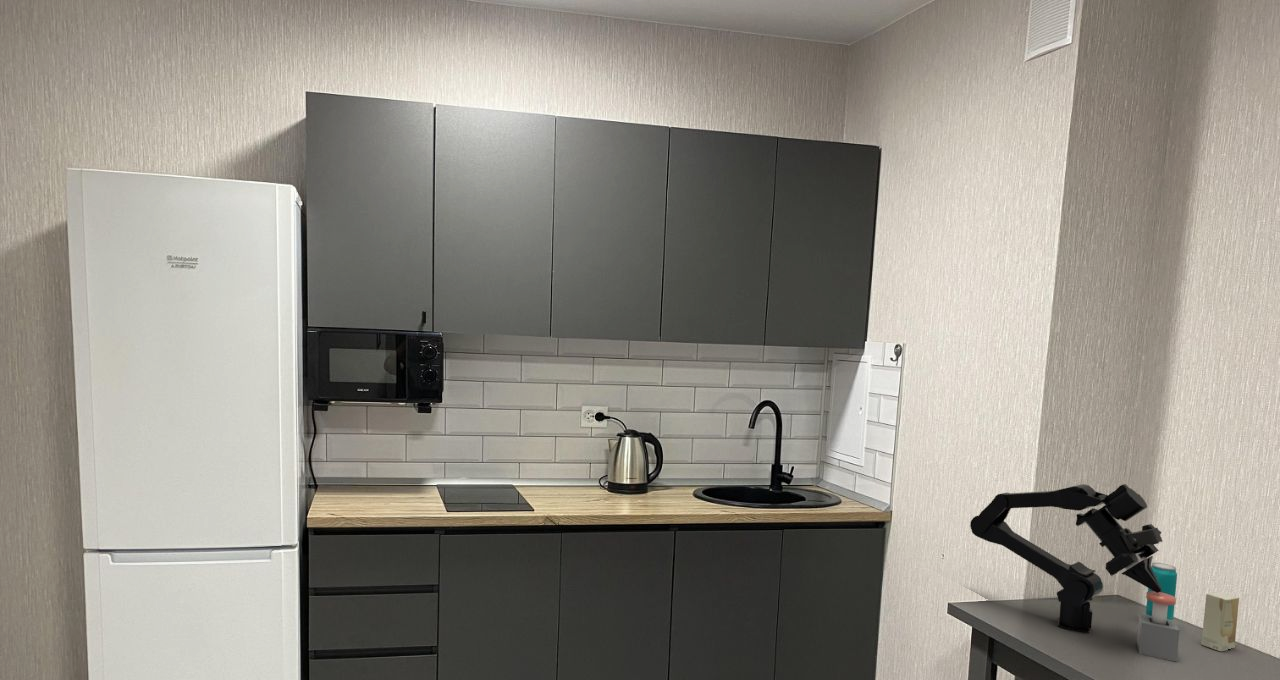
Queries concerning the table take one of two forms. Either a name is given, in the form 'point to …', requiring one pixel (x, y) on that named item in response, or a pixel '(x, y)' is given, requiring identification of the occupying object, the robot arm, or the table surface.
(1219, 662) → the table surface
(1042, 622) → the table surface
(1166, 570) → the beverage can
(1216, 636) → the skincare box
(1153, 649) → the button housing
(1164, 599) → the red plunger
